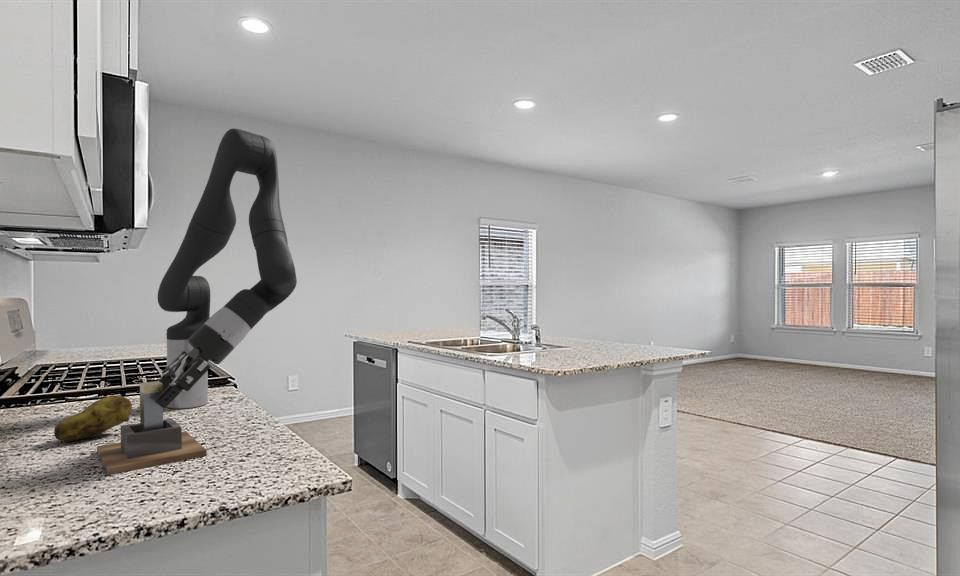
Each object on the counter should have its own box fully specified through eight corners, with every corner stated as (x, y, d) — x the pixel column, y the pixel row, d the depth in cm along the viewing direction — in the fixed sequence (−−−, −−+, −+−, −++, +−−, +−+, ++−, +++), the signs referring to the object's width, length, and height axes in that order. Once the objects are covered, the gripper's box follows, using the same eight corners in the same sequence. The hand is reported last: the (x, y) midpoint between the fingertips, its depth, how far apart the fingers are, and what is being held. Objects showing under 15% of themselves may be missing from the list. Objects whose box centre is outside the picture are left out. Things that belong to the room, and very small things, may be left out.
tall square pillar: (140, 447, 100) (139, 383, 100) (159, 444, 102) (158, 381, 102) (144, 451, 98) (143, 385, 98) (163, 448, 100) (162, 383, 100)
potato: (57, 437, 111) (57, 398, 111) (132, 427, 118) (131, 391, 118) (52, 447, 104) (52, 406, 104) (132, 436, 111) (131, 398, 111)
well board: (97, 451, 101) (96, 424, 101) (186, 436, 111) (185, 412, 111) (107, 474, 89) (107, 444, 89) (206, 455, 99) (206, 428, 99)
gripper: (196, 320, 111) (131, 382, 104) (215, 324, 100) (144, 394, 93) (224, 344, 115) (163, 406, 108) (245, 350, 104) (179, 420, 97)
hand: (154, 400), depth 100 cm, fingers open, 8 cm apart
